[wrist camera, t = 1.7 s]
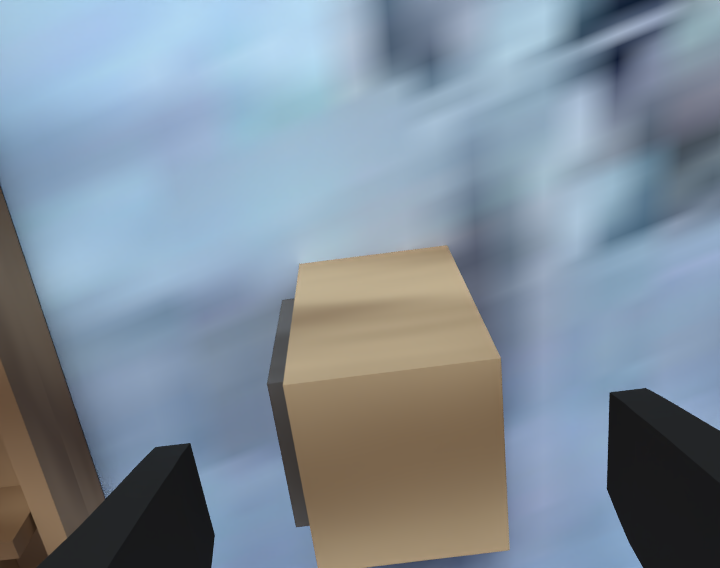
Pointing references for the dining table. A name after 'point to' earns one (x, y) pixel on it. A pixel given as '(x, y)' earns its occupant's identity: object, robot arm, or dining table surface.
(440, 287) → the tan rectangular block
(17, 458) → the brown wooden tray
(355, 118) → the dining table surface
